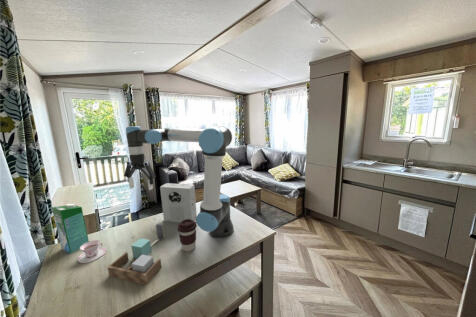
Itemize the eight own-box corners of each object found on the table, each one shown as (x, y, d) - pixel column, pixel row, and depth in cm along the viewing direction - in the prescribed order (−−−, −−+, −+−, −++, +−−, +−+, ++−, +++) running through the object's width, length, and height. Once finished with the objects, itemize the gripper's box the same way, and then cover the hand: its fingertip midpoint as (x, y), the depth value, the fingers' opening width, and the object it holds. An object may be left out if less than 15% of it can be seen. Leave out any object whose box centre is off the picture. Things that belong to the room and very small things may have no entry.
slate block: (154, 269, 88) (152, 256, 87) (145, 280, 82) (143, 266, 81) (143, 267, 90) (141, 254, 88) (134, 277, 84) (131, 263, 83)
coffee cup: (201, 243, 106) (199, 219, 103) (191, 255, 97) (189, 228, 94) (186, 240, 109) (184, 216, 106) (175, 251, 100) (172, 225, 97)
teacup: (74, 266, 91) (71, 255, 90) (81, 251, 102) (79, 241, 101) (104, 258, 96) (102, 247, 95) (108, 245, 107) (106, 235, 106)
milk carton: (89, 243, 108) (81, 203, 103) (70, 253, 100) (60, 210, 95) (80, 239, 112) (72, 200, 107) (61, 249, 104) (51, 207, 99)
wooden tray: (161, 267, 89) (160, 258, 89) (146, 284, 80) (145, 275, 79) (127, 260, 95) (125, 252, 94) (109, 275, 85) (107, 267, 84)
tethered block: (166, 237, 112) (165, 223, 110) (142, 259, 95) (140, 243, 93) (158, 236, 114) (156, 222, 112) (133, 257, 96) (130, 241, 95)
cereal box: (197, 218, 134) (194, 184, 129) (192, 223, 126) (189, 188, 121) (169, 215, 139) (166, 183, 134) (163, 220, 131) (159, 186, 126)
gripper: (159, 152, 109) (163, 187, 113) (124, 152, 115) (129, 185, 119) (150, 155, 101) (154, 192, 106) (113, 154, 108) (119, 189, 112)
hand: (141, 188), depth 112 cm, fingers open, 13 cm apart
